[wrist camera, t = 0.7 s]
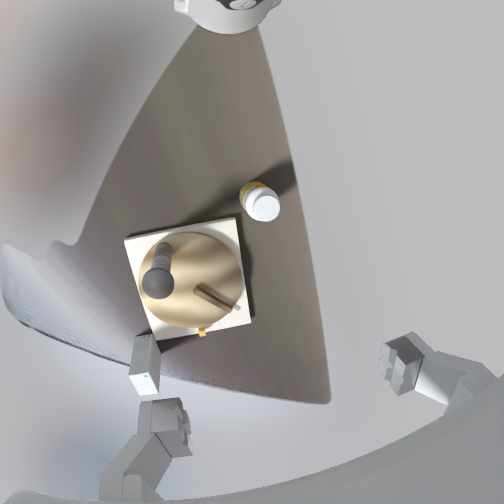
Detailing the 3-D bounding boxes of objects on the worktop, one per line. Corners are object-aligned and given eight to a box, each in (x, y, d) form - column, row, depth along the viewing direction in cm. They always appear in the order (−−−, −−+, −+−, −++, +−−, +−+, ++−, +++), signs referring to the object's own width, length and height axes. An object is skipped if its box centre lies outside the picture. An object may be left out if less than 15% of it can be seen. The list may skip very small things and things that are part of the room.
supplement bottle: (274, 195, 55) (291, 208, 46) (253, 216, 56) (266, 233, 47) (254, 174, 53) (268, 183, 44) (232, 196, 54) (241, 209, 45)
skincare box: (134, 336, 60) (127, 374, 49) (153, 332, 60) (149, 371, 49) (143, 357, 62) (139, 396, 51) (161, 354, 63) (160, 393, 52)
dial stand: (125, 238, 52) (121, 244, 49) (234, 216, 55) (237, 222, 52) (156, 336, 61) (155, 346, 58) (249, 318, 63) (252, 328, 60)
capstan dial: (127, 242, 51) (109, 278, 38) (232, 222, 54) (248, 252, 41) (154, 331, 58) (149, 380, 45) (247, 313, 61) (263, 360, 48)
